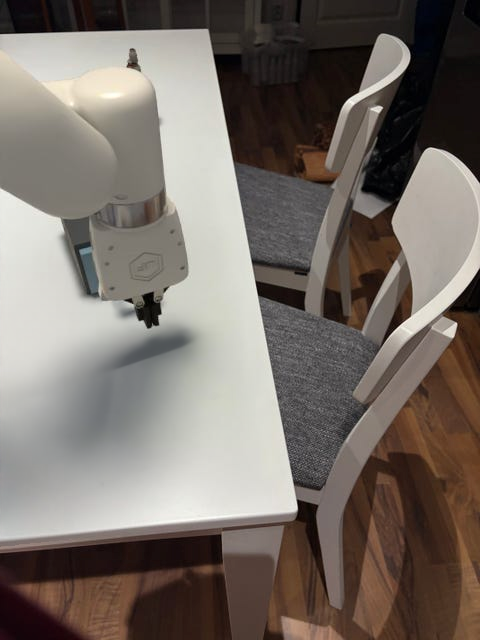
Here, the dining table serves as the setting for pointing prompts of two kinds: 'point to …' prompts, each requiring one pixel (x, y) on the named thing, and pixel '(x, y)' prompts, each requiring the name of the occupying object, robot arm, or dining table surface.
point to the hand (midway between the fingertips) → (149, 319)
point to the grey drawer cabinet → (78, 242)
